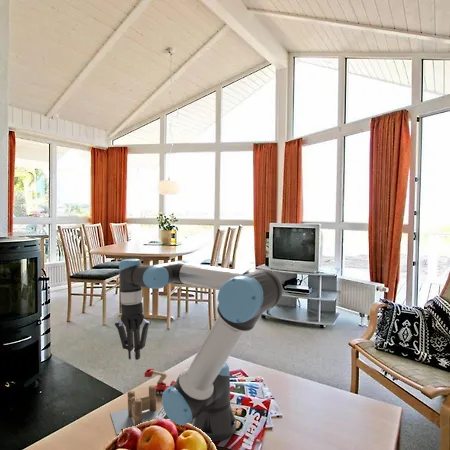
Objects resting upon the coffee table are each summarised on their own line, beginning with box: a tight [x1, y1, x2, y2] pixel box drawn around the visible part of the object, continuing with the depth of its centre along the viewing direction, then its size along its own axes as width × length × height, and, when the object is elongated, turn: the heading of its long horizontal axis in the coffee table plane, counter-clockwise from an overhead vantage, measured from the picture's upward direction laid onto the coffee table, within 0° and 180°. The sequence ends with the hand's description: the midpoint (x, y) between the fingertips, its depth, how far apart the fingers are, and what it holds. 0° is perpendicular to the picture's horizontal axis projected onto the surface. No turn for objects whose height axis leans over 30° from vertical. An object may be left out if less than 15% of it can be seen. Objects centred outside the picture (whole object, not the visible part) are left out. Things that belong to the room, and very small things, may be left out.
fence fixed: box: [127, 384, 157, 417], centre depth 133 cm, size 3×11×9 cm, turn 116°
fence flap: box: [127, 390, 142, 426], centre depth 128 cm, size 3×11×9 cm, turn 32°
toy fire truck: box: [144, 368, 176, 395], centre depth 149 cm, size 3×14×10 cm, turn 84°
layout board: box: [110, 408, 158, 436], centre depth 130 cm, size 15×16×1 cm
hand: (134, 368), depth 125 cm, fingers closed
